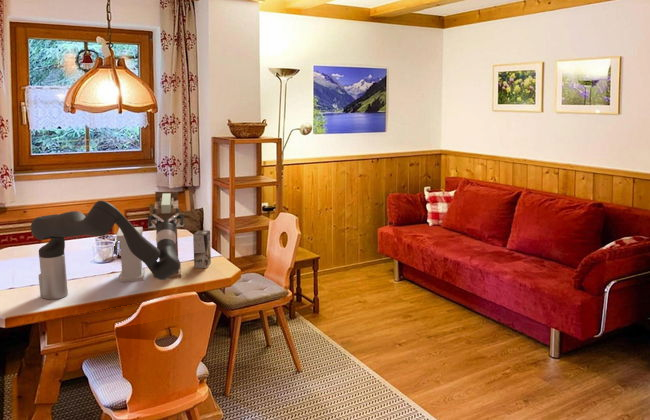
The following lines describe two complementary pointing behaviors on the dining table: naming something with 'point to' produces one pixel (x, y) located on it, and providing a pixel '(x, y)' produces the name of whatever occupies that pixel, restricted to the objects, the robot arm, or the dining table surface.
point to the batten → (166, 203)
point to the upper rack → (168, 215)
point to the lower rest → (129, 260)
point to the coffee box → (202, 249)
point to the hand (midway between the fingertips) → (165, 209)
